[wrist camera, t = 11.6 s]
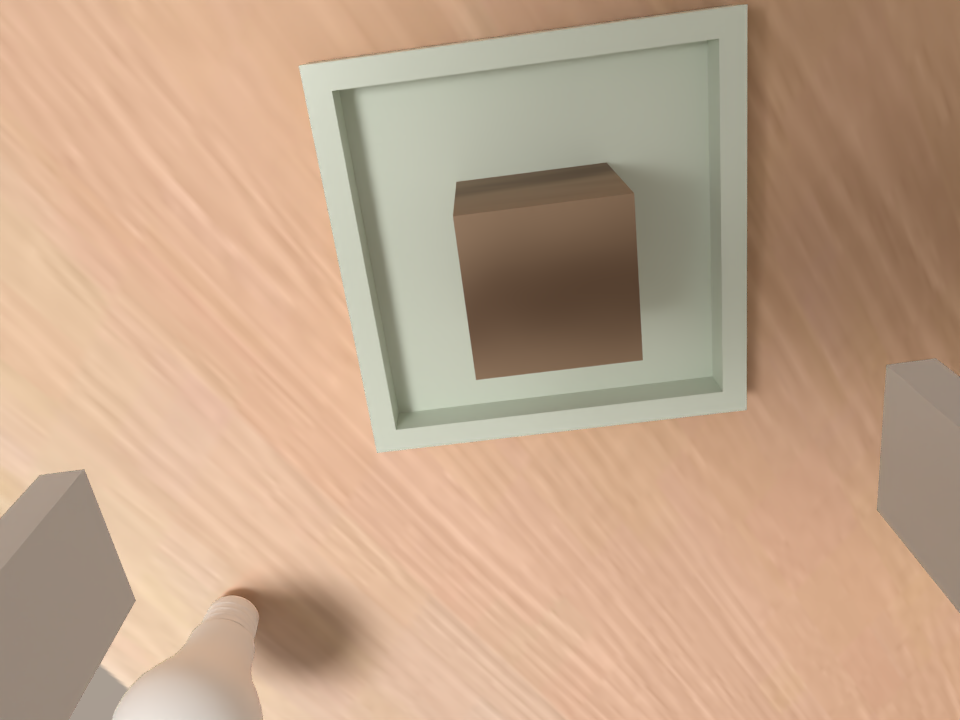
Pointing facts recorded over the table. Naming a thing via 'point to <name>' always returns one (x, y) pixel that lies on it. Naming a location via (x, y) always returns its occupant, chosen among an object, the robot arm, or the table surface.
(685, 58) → the tray
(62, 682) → the robot arm
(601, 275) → the cube
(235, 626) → the lightbulb
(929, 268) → the table surface
